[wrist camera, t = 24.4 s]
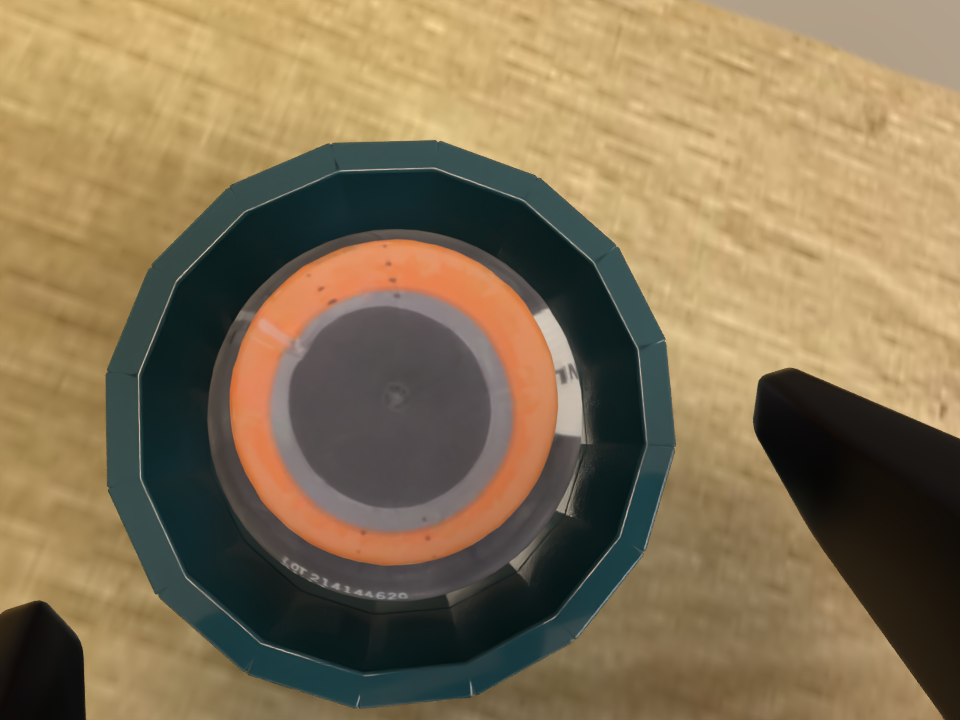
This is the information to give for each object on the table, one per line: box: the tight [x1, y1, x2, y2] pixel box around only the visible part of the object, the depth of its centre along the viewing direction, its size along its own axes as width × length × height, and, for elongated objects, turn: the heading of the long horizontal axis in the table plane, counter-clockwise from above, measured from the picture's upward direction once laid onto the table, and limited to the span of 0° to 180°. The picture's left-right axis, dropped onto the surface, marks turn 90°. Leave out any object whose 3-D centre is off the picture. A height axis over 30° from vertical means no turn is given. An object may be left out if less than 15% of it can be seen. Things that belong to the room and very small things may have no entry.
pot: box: [106, 140, 676, 709], centre depth 18 cm, size 11×11×6 cm
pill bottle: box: [207, 229, 582, 601], centre depth 14 cm, size 6×6×11 cm
